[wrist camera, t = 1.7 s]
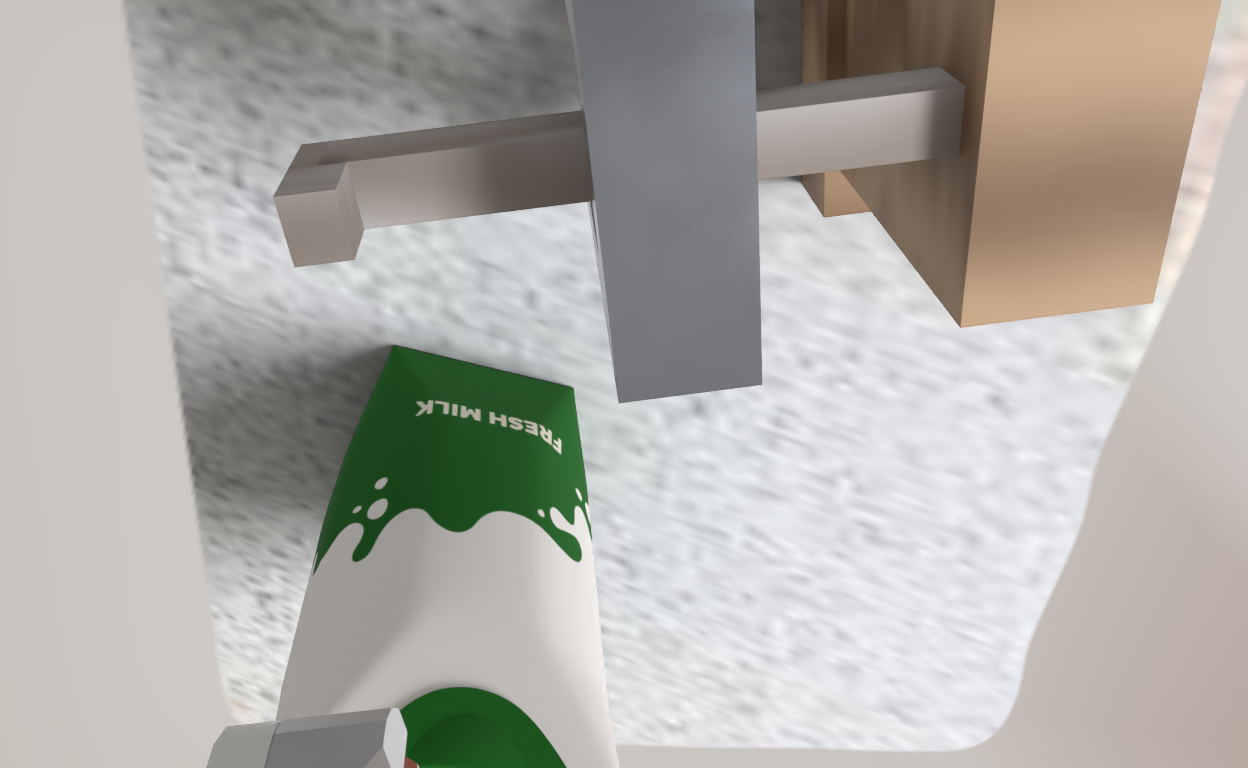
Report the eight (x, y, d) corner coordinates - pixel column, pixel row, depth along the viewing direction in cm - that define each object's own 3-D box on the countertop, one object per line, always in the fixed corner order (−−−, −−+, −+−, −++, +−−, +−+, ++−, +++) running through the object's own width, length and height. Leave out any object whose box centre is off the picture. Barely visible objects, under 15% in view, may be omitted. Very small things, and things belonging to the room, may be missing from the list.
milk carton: (603, 372, 38) (671, 870, 21) (536, 545, 42) (548, 1071, 25) (373, 316, 36) (244, 821, 19) (328, 504, 40) (191, 1050, 23)
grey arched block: (551, -92, 25) (571, -1, 16) (667, -106, 25) (753, -23, 16) (587, 199, 30) (618, 403, 20) (686, 187, 30) (762, 384, 20)
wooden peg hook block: (319, -165, 27) (180, -105, 16) (1012, -245, 28) (1351, -240, 17) (410, 231, 34) (357, 473, 23) (971, 162, 34) (1193, 363, 23)
